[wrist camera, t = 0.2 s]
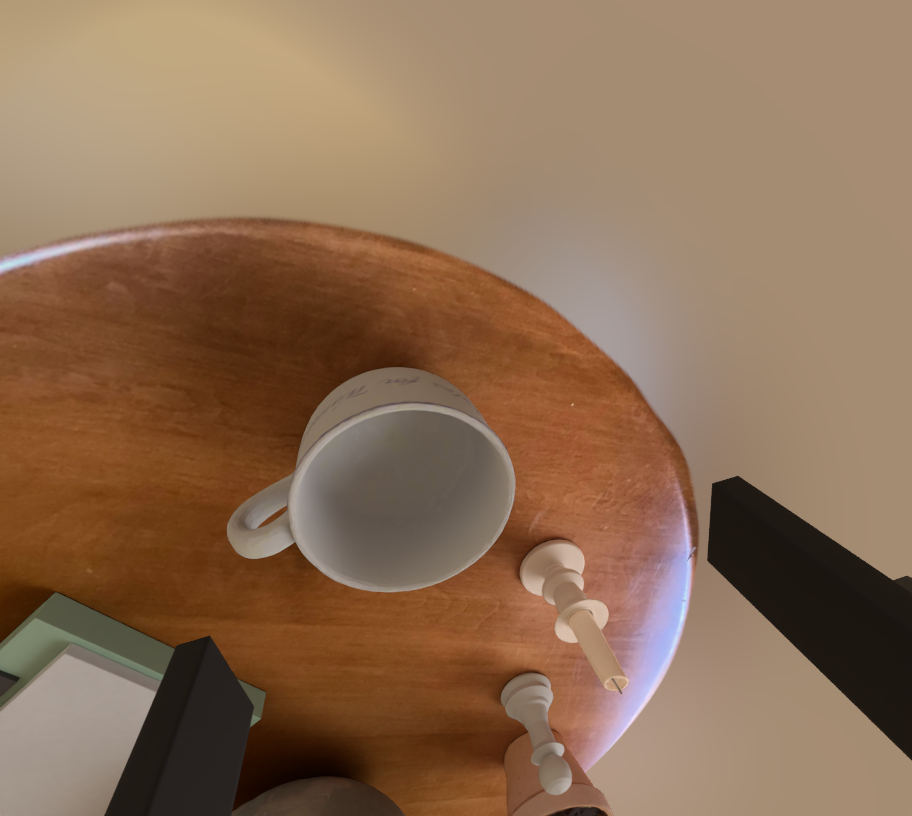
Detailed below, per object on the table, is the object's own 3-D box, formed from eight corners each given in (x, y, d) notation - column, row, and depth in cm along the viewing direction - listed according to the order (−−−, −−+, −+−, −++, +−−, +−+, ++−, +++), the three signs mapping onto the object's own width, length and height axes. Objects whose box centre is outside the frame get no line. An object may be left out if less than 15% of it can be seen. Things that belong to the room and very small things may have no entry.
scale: (-113, 747, 29) (-158, 798, 27) (55, 591, 27) (25, 629, 25) (118, 814, 36) (100, 859, 33) (266, 692, 34) (259, 730, 31)
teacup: (479, 346, 27) (524, 393, 19) (477, 498, 31) (513, 583, 24) (230, 361, 24) (176, 422, 17) (265, 524, 28) (233, 628, 21)
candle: (529, 601, 36) (590, 736, 26) (510, 556, 34) (569, 687, 24) (588, 574, 36) (669, 699, 27) (573, 528, 34) (656, 647, 24)
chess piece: (504, 673, 39) (538, 777, 31) (554, 668, 40) (598, 768, 33) (495, 709, 40) (525, 816, 33) (543, 704, 42) (581, 806, 34)
